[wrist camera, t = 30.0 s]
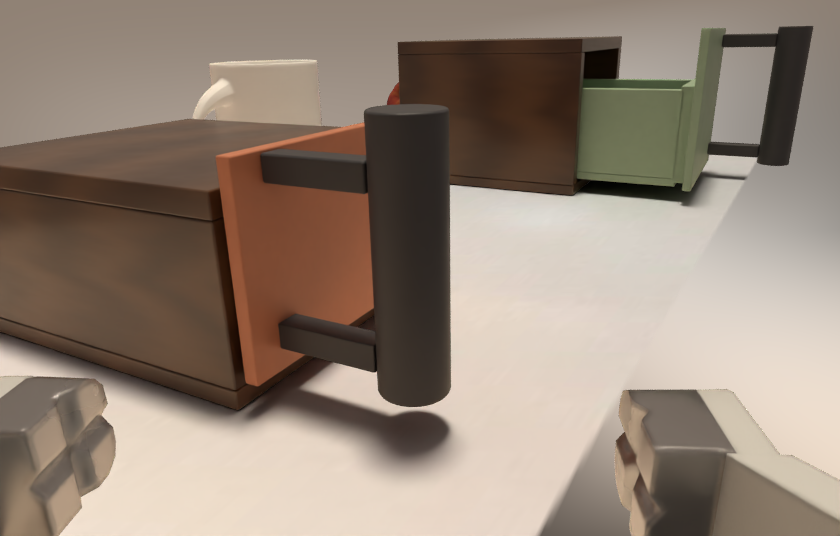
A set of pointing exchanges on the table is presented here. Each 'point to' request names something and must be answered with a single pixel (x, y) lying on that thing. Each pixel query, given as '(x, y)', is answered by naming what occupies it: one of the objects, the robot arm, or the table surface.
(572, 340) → the table surface
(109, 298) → the cubby low
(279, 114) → the mug
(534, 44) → the wooden drawer cabinet
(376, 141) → the orange drawer
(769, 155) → the green drawer
